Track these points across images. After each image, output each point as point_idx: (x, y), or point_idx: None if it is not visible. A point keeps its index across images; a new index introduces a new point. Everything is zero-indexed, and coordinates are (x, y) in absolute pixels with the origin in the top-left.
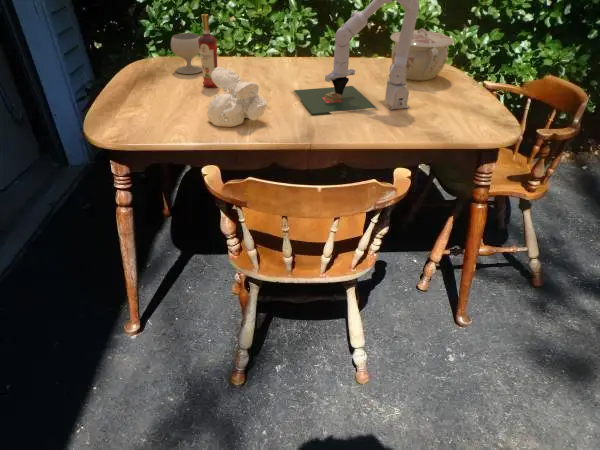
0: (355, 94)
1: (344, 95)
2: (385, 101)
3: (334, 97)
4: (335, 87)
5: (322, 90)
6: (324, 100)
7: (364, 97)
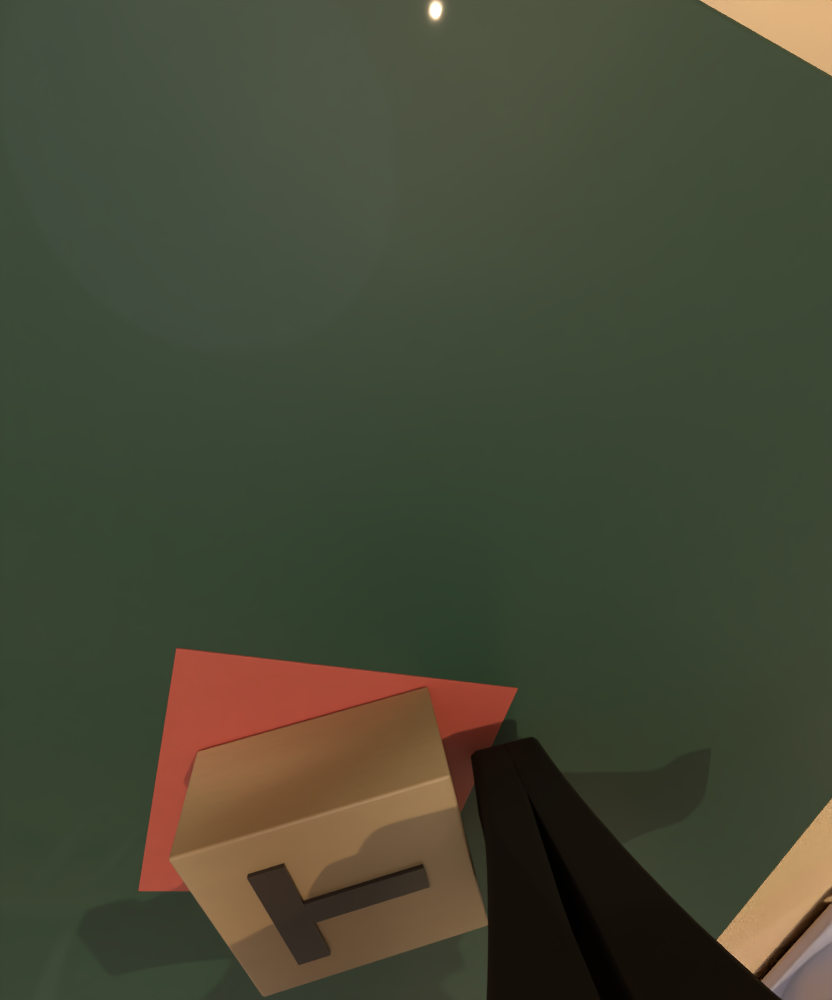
0: (819, 712)
1: (654, 695)
2: (821, 990)
3: (289, 978)
4: (507, 961)
5: (481, 207)
6: (153, 796)
7: (798, 829)
